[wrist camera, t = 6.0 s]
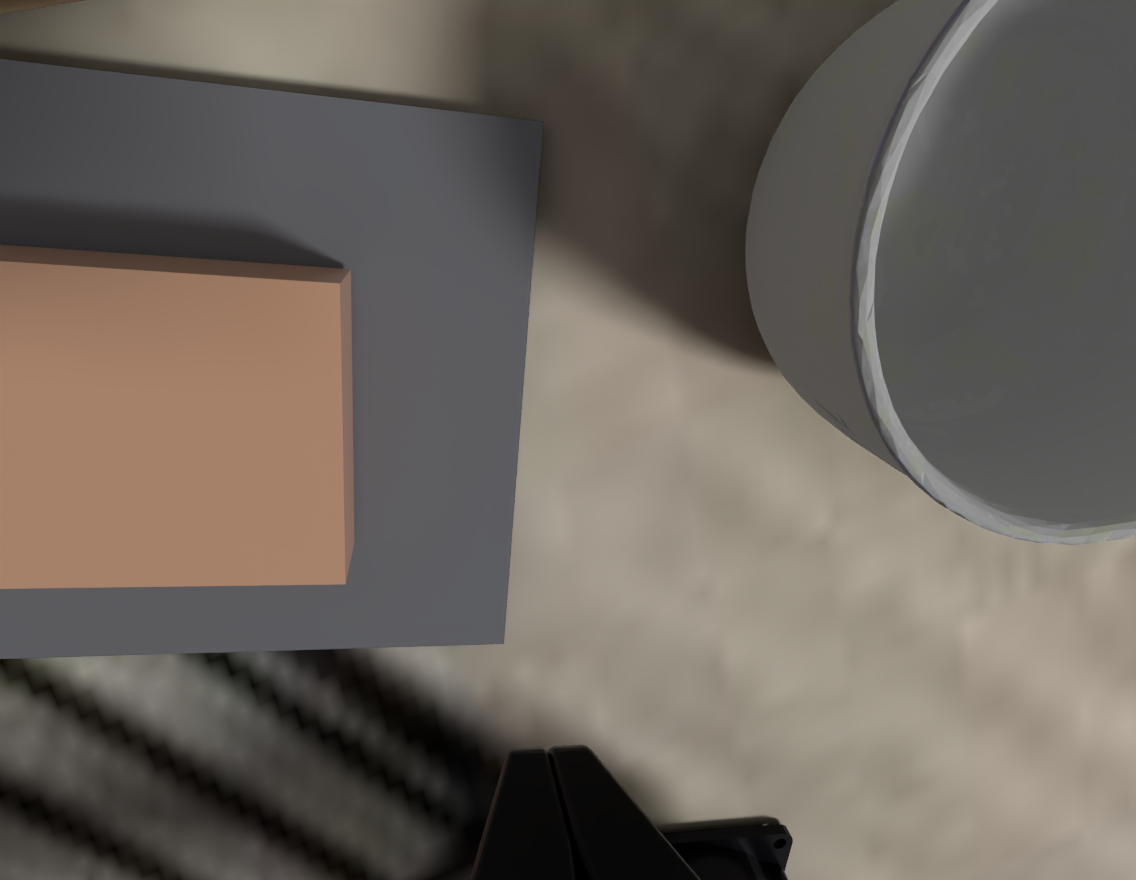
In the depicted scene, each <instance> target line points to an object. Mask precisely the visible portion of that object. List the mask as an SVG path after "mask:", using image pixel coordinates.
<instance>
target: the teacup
mask: <svg viewBox="0 0 1136 880" xmlns="http://www.w3.org/2000/svg"><path fill="white" fill-rule="evenodd" d="M746 275H747V284H748V291H749V296H750V301H751V306H752V310H753V313H754V317H755V320H756V323H757V326H758V329H759V331H760V334H761V336H762V338H763V340H764V342H765V345H766V347H767V349H768V351H769V353H770V355H771V357H772V358H773V360H774V361H775V363H776V365H777V366H778V368H779V369H780V371H781V372H782V374H783V376H784V377H785V379H786V380H787V381H788V382H789V383H790V385H791V386H792V387H793V388H794V389H795V390H796V392H797V393H798V394H799V395H800V396H801V397H802V398H803V399H804V400H805V401H806V402H807V403H808V404H809V405H810V406H811V407H812V408H813V409H814V410H815V411H816V412H817V413H818V414H819V415H821V416H822V417H823V418H824V419H826V420H827V421H828V422H830V423H831V424H832V425H833V426H835V427H836V428H837V429H838V430H840V431H841V432H842V433H843V434H845V435H846V436H848V437H849V438H850V439H852V440H853V441H855V442H856V443H858V444H859V445H860V446H862V447H863V448H865V449H866V450H868V451H870V452H871V453H873V454H874V455H876V456H877V457H879V458H880V459H882V460H883V461H885V462H886V463H888V464H889V465H891V466H892V467H894V468H895V469H897V470H898V471H900V472H902V473H903V474H905V475H907V476H908V477H909V478H910V479H911V480H912V481H913V482H914V483H915V484H916V485H917V486H918V487H919V488H921V489H922V490H923V491H924V492H925V493H926V494H928V495H929V496H930V497H931V498H932V499H934V500H935V501H936V502H937V503H939V504H941V505H942V506H944V507H945V508H947V509H949V510H950V511H952V512H954V513H955V514H957V515H959V516H961V517H962V518H964V519H966V520H968V521H970V522H972V523H974V524H976V525H978V526H980V527H982V528H985V529H987V530H990V531H993V532H996V533H998V534H1002V535H1006V536H1009V537H1013V538H1016V539H1021V540H1027V541H1032V542H1037V543H1057V544H1066V545H1077V544H1091V543H1099V542H1103V541H1109V540H1118V539H1124V538H1129V537H1133V536H1136V0H898V1H897V2H895V3H894V4H892V5H890V6H889V7H887V8H886V9H884V10H883V11H881V12H880V13H879V14H877V15H876V16H875V17H874V18H872V19H871V20H870V21H868V22H867V23H866V24H864V25H863V26H862V27H860V28H859V29H858V30H856V31H855V32H854V33H853V34H852V35H851V36H850V37H849V38H848V39H846V40H845V41H844V42H843V43H842V44H841V45H840V46H839V47H838V48H837V49H836V50H835V51H834V52H833V53H832V54H831V55H830V56H829V57H828V58H827V59H826V60H825V61H824V62H823V63H822V64H821V65H820V66H819V67H818V69H817V70H816V71H815V72H814V73H813V75H812V76H811V77H810V79H809V80H808V81H807V83H806V84H805V85H804V87H803V88H802V89H801V90H800V92H799V93H798V94H797V96H796V97H795V99H794V100H793V102H792V104H791V105H790V107H789V108H788V110H787V111H786V113H785V115H784V117H783V119H782V121H781V122H780V124H779V126H778V128H777V130H776V132H775V134H774V135H773V137H772V139H771V141H770V144H769V147H768V149H767V152H766V154H765V157H764V159H763V162H762V165H761V167H760V170H759V172H758V175H757V179H756V182H755V186H754V189H753V193H752V199H751V205H750V210H749V216H748V221H747V230H746Z"/></svg>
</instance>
